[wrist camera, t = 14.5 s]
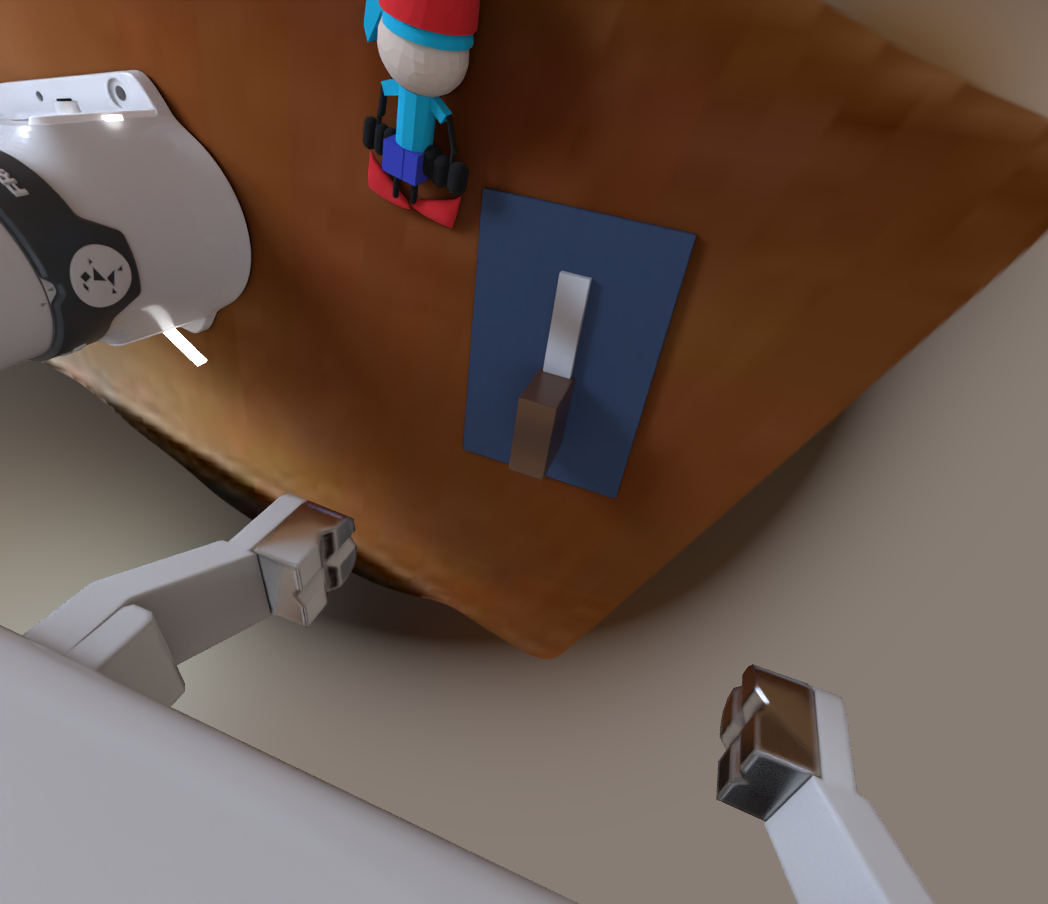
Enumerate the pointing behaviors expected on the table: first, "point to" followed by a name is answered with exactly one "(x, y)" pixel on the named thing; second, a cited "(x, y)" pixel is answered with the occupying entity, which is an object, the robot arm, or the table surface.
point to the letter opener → (551, 383)
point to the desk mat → (606, 336)
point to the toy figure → (419, 97)
